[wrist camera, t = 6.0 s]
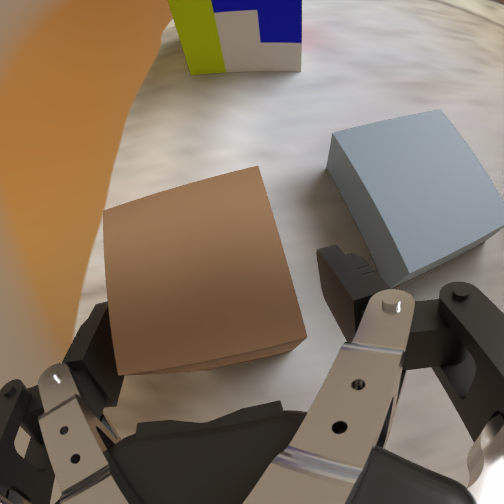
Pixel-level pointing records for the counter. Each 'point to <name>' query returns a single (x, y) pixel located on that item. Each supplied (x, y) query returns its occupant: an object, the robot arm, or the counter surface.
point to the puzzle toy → (239, 34)
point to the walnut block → (198, 278)
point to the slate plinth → (414, 192)
